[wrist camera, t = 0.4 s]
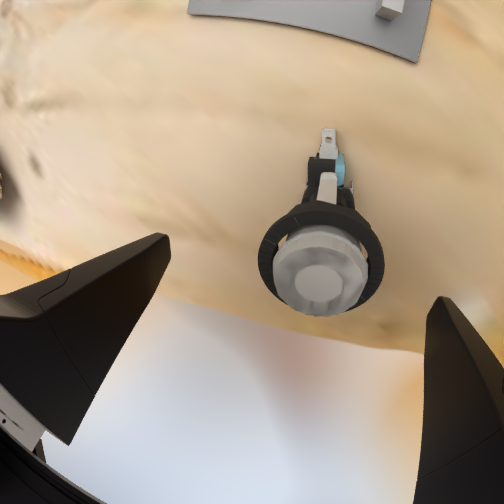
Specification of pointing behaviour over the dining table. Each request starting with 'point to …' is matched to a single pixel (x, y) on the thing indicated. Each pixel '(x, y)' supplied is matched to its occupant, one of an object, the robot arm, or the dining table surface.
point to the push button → (322, 244)
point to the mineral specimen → (0, 188)
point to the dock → (337, 19)
